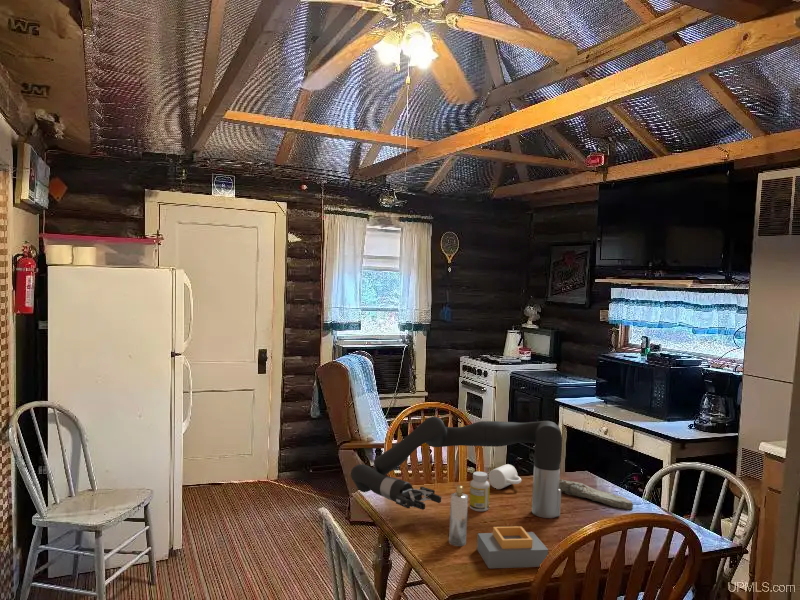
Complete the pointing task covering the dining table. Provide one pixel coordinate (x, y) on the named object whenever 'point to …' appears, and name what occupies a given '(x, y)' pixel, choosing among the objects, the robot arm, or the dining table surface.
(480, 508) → the supplement bottle
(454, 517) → the gold capped bottle
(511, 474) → the mug
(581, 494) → the elongated rock
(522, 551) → the grey base with frame
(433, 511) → the dining table surface
